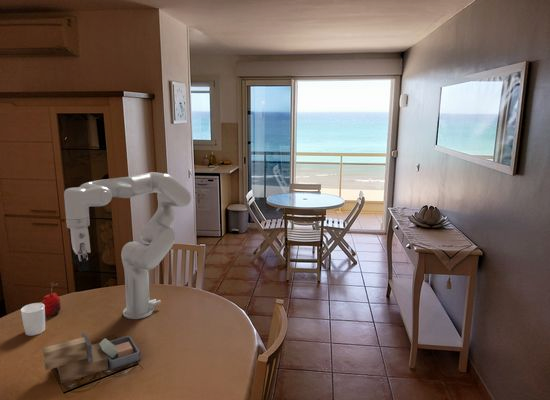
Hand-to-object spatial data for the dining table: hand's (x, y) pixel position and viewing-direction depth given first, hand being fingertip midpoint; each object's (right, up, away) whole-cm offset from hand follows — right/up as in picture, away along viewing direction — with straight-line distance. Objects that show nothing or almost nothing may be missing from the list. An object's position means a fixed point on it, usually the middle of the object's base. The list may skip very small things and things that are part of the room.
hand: (81, 266), depth 147 cm
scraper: (+3, -28, -16) cm, 33 cm away
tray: (+17, -31, -6) cm, 35 cm away
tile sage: (+13, -28, -9) cm, 32 cm away
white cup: (-22, -27, +8) cm, 36 cm away
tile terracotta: (+18, -28, -6) cm, 33 cm away
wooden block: (+7, -32, -13) cm, 35 cm away
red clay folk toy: (-23, -24, +22) cm, 40 cm away
